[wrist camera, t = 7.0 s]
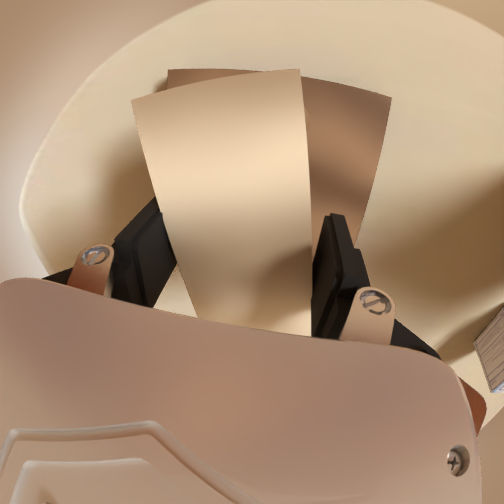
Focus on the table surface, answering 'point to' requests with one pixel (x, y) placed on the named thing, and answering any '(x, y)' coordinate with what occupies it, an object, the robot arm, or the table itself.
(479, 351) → the medicine box
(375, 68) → the table surface
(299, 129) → the beige wooden block
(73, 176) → the table surface
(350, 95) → the peg board
